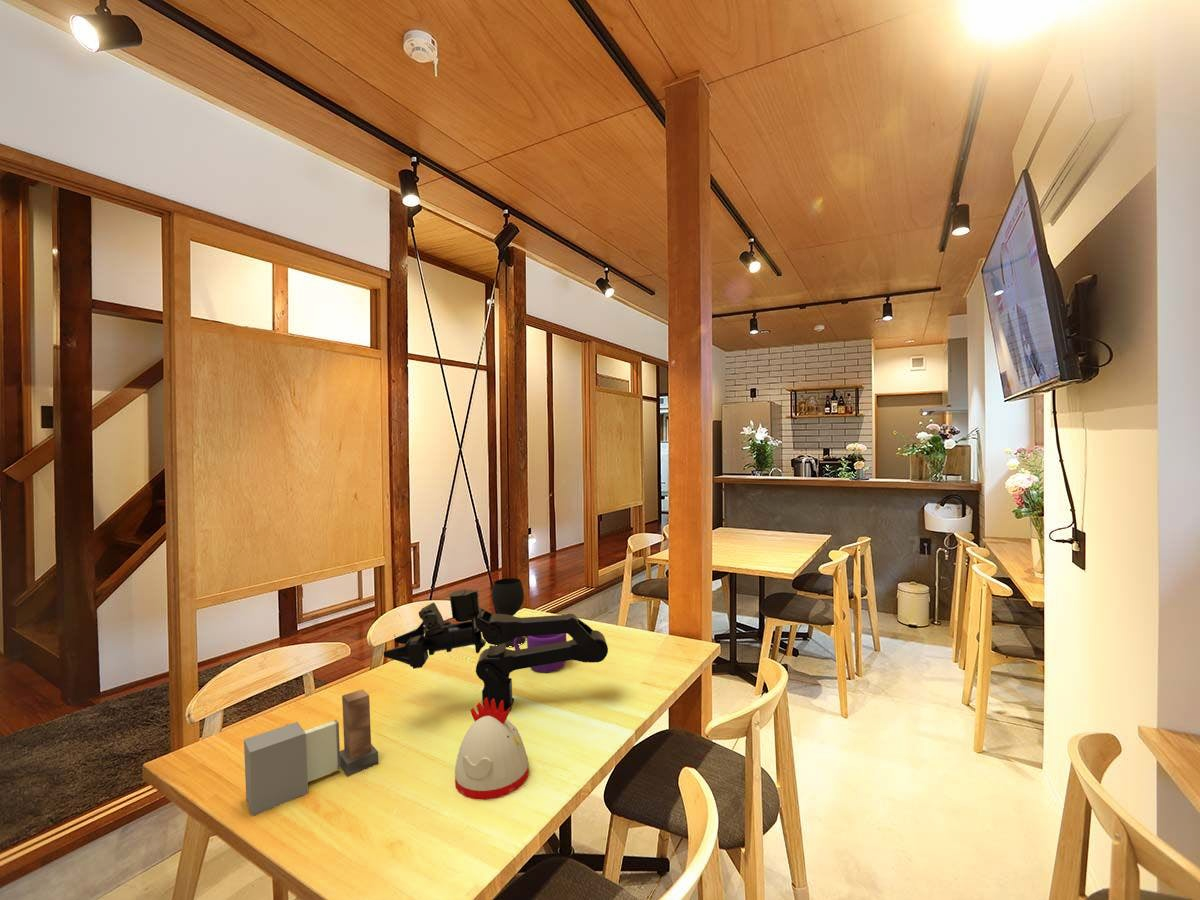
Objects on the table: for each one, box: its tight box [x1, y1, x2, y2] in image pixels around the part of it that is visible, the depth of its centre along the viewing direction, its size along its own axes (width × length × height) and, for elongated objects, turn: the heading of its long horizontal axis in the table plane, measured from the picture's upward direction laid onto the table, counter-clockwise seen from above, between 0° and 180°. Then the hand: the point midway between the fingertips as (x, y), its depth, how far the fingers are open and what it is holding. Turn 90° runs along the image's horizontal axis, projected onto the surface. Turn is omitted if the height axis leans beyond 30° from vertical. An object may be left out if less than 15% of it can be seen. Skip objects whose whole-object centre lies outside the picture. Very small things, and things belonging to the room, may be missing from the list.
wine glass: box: [491, 577, 526, 648], centre depth 176 cm, size 10×10×20 cm
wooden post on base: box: [340, 688, 380, 777], centre depth 109 cm, size 6×6×14 cm
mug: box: [513, 633, 567, 673], centre depth 156 cm, size 17×11×10 cm, turn 63°
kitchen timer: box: [454, 697, 530, 801], centre depth 103 cm, size 14×14×15 cm
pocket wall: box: [243, 721, 309, 817], centre depth 99 cm, size 9×6×11 cm
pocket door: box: [304, 719, 341, 783], centre depth 104 cm, size 8×2×9 cm, turn 132°
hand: (389, 647), depth 128 cm, fingers open, 9 cm apart
